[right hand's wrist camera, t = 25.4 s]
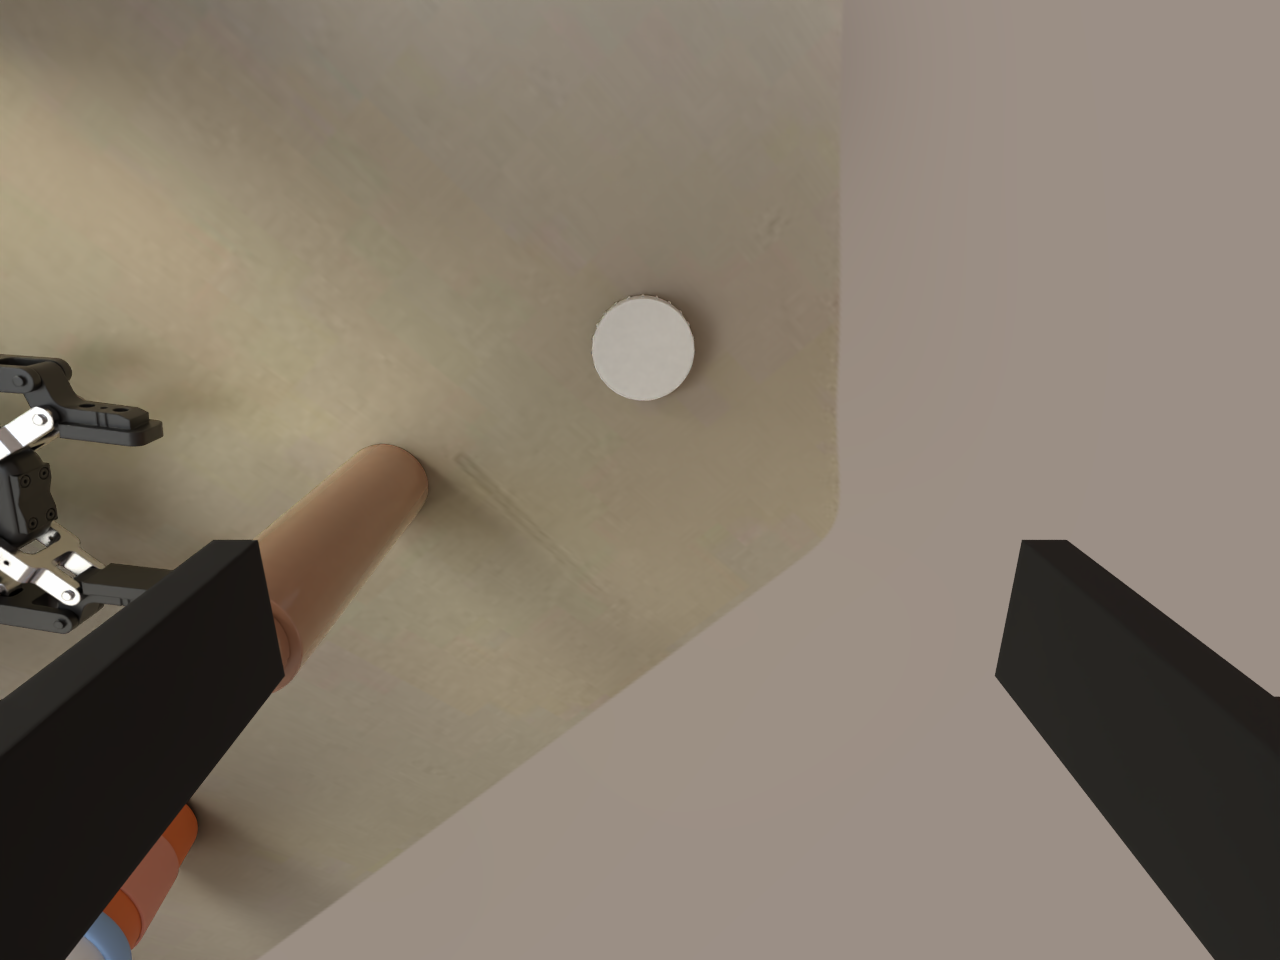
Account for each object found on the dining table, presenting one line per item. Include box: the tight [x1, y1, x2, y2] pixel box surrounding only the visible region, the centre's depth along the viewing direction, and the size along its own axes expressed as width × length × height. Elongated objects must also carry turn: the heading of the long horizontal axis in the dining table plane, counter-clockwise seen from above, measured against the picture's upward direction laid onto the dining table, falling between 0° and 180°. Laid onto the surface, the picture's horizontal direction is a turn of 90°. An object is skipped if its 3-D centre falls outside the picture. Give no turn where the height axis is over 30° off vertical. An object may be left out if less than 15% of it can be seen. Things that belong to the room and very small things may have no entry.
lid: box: [591, 294, 695, 401], centre depth 39 cm, size 6×6×2 cm
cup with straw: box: [65, 804, 198, 960], centre depth 43 cm, size 9×9×18 cm
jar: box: [253, 444, 428, 693], centre depth 34 cm, size 5×5×19 cm
